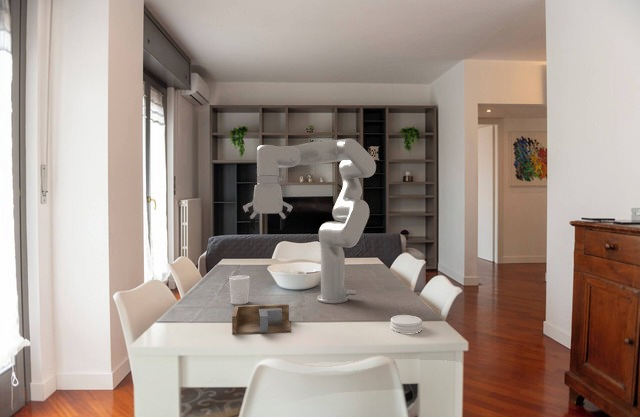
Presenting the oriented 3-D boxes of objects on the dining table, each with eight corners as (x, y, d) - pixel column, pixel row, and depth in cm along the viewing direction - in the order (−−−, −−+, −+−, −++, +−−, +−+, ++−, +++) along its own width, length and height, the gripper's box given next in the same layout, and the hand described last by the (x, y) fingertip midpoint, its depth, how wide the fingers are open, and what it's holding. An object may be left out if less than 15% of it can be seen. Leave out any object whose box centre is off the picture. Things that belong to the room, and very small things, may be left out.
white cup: (245, 305, 163) (245, 279, 162) (226, 304, 164) (225, 278, 164) (252, 300, 171) (252, 275, 170) (234, 299, 172) (234, 274, 172)
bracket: (258, 324, 139) (258, 309, 138) (281, 323, 140) (281, 308, 140) (260, 332, 131) (260, 316, 131) (284, 330, 132) (284, 315, 132)
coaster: (401, 336, 130) (402, 325, 130) (384, 327, 139) (384, 316, 139) (428, 332, 134) (428, 321, 134) (410, 323, 143) (410, 313, 143)
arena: (288, 320, 145) (288, 304, 145) (290, 332, 133) (290, 314, 133) (235, 322, 143) (234, 305, 142) (232, 334, 131) (232, 316, 131)
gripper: (292, 181, 154) (291, 228, 154) (243, 181, 151) (243, 229, 152) (293, 181, 146) (293, 230, 147) (242, 180, 144) (242, 231, 145)
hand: (267, 229), depth 150 cm, fingers open, 9 cm apart
